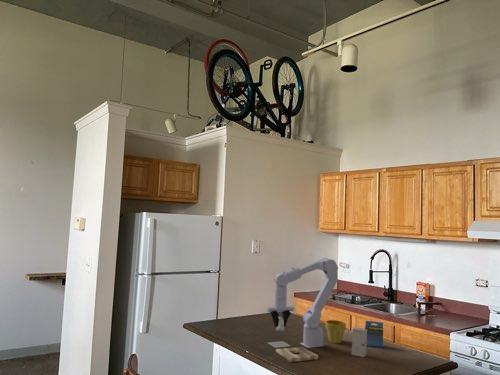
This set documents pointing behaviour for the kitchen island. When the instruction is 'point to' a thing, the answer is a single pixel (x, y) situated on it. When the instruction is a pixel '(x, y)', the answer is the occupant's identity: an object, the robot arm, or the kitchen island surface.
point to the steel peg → (280, 324)
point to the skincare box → (359, 341)
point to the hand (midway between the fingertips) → (280, 326)
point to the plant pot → (335, 330)
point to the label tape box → (374, 333)
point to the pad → (278, 344)
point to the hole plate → (298, 357)
